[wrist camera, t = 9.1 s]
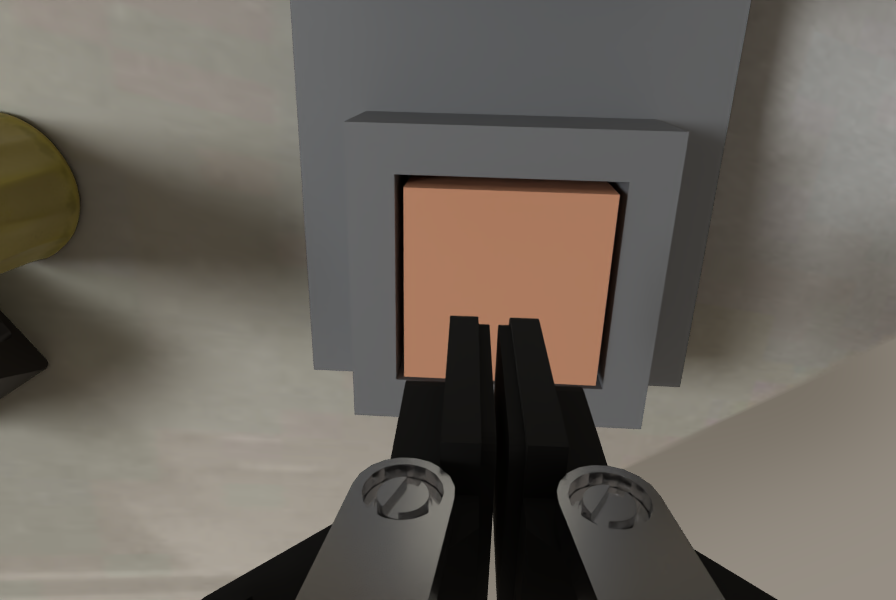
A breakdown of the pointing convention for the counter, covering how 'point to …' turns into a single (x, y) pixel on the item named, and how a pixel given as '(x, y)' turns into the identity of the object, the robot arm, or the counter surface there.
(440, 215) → the terracotta button
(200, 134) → the counter surface
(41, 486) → the counter surface
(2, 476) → the counter surface
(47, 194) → the vase
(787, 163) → the counter surface
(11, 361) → the phone stand
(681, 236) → the button panel
